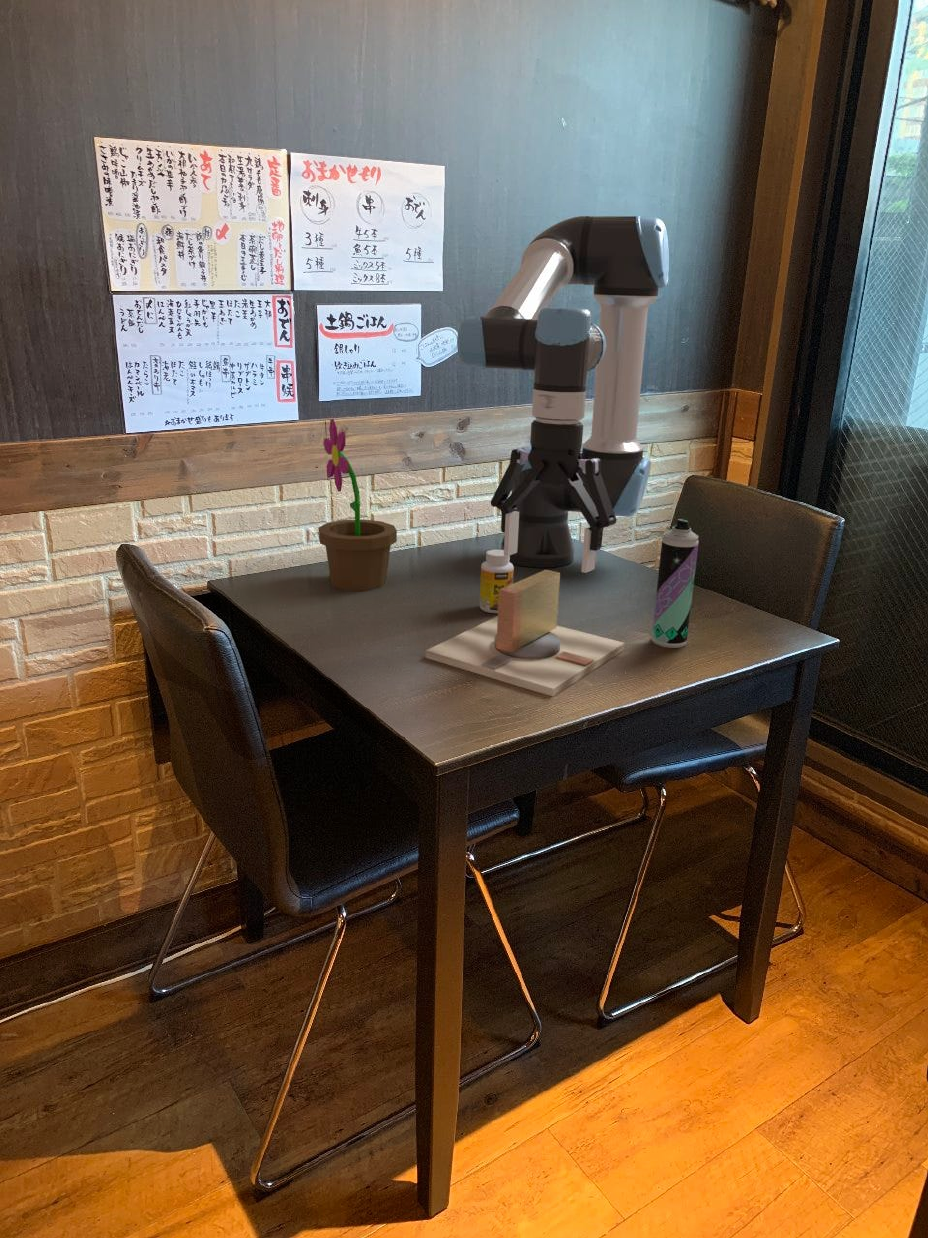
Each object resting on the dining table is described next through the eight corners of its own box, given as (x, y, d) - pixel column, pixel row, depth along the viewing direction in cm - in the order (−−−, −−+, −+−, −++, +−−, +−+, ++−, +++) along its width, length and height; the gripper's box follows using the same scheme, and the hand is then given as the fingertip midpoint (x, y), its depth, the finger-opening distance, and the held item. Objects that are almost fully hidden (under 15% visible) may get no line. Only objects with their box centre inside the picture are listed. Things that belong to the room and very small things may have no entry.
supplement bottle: (491, 616, 157) (493, 558, 154) (473, 607, 162) (475, 550, 158) (518, 611, 160) (521, 554, 157) (499, 602, 165) (501, 546, 161)
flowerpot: (308, 575, 176) (304, 414, 165) (379, 567, 182) (378, 412, 172) (334, 598, 164) (331, 426, 154) (409, 589, 170) (410, 423, 160)
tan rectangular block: (541, 625, 147) (545, 569, 144) (556, 629, 146) (560, 572, 142) (496, 649, 137) (498, 589, 134) (511, 654, 136) (514, 593, 132)
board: (505, 618, 157) (506, 605, 156) (624, 650, 145) (625, 635, 144) (425, 657, 140) (426, 642, 139) (552, 696, 128) (553, 680, 127)
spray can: (645, 637, 150) (657, 516, 143) (673, 633, 152) (687, 514, 145) (664, 649, 146) (677, 525, 139) (693, 645, 147) (708, 522, 141)
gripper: (471, 413, 138) (466, 552, 145) (624, 432, 124) (610, 583, 132) (499, 409, 144) (493, 542, 151) (648, 426, 130) (634, 572, 137)
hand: (548, 562), depth 141 cm, fingers open, 13 cm apart
